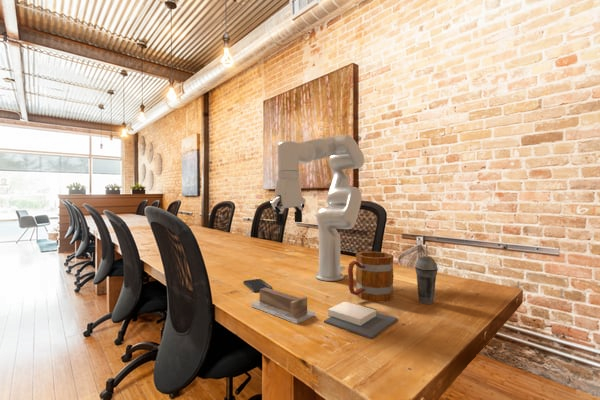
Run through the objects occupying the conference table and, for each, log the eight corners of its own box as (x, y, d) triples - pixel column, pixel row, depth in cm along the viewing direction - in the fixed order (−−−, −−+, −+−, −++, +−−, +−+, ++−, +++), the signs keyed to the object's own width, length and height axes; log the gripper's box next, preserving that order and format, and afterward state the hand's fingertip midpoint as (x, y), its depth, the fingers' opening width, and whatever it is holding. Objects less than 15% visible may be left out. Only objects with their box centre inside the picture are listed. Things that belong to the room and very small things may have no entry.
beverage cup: (436, 299, 105) (436, 242, 105) (438, 306, 98) (439, 246, 98) (414, 297, 107) (414, 241, 107) (415, 304, 100) (415, 244, 100)
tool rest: (269, 300, 104) (269, 296, 104) (314, 315, 90) (314, 311, 90) (251, 306, 98) (251, 303, 98) (296, 324, 84) (296, 319, 84)
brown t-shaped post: (269, 297, 103) (269, 286, 103) (307, 310, 91) (307, 297, 91) (255, 302, 98) (255, 290, 98) (292, 316, 87) (293, 302, 87)
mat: (353, 307, 98) (353, 305, 98) (397, 319, 88) (397, 317, 88) (323, 322, 86) (323, 320, 86) (371, 338, 76) (371, 336, 76)
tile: (344, 301, 96) (376, 310, 88) (344, 307, 96) (376, 316, 88) (327, 309, 89) (360, 319, 82) (327, 315, 89) (360, 326, 82)
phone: (260, 278, 129) (273, 287, 115) (260, 281, 129) (273, 290, 115) (242, 280, 125) (253, 290, 112) (242, 283, 125) (253, 293, 112)
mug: (372, 287, 118) (372, 250, 118) (401, 297, 107) (401, 255, 107) (335, 297, 107) (335, 255, 107) (364, 309, 96) (364, 262, 96)
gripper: (296, 177, 117) (297, 220, 118) (263, 176, 104) (265, 225, 104) (311, 176, 112) (312, 221, 113) (279, 175, 99) (280, 227, 100)
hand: (289, 223), depth 109 cm, fingers open, 9 cm apart
